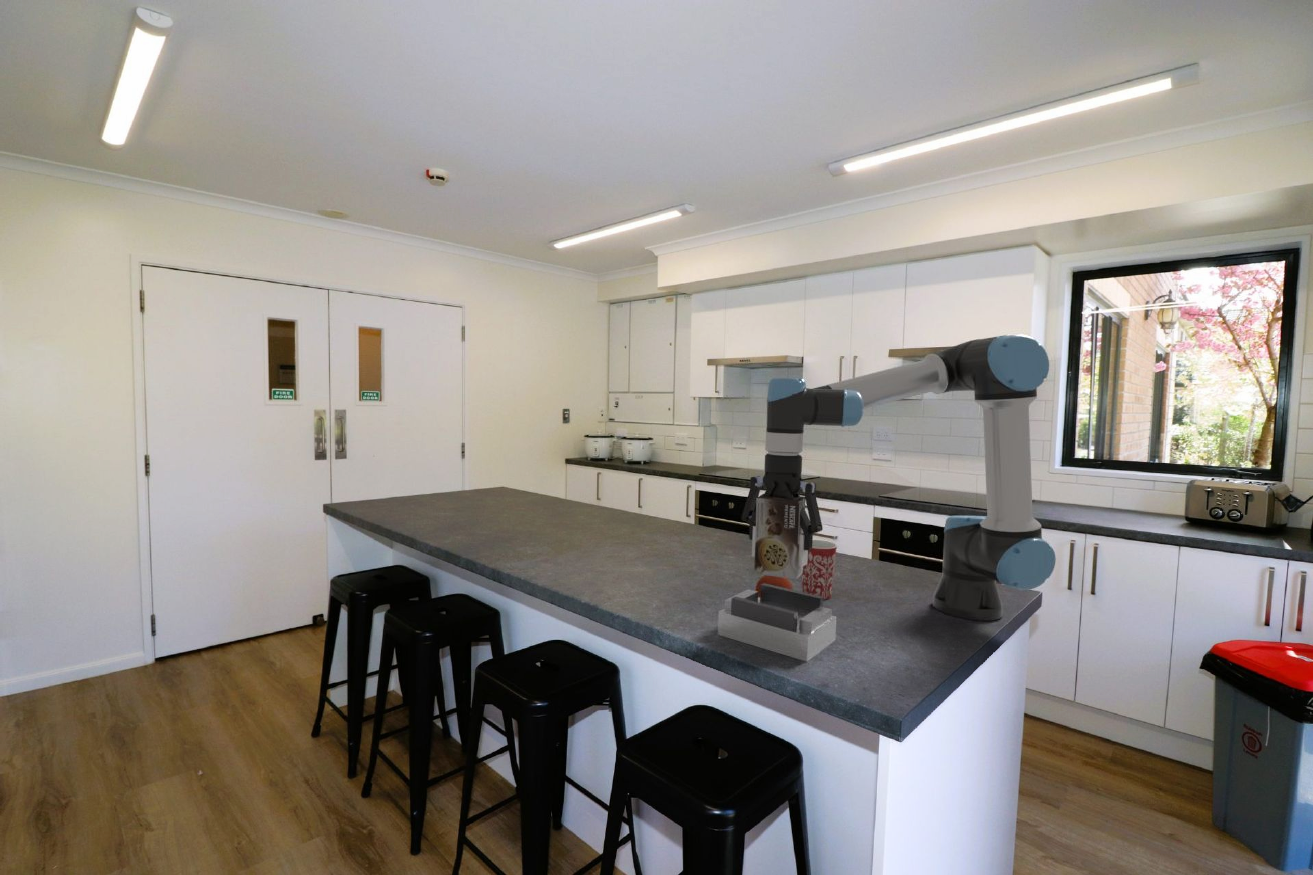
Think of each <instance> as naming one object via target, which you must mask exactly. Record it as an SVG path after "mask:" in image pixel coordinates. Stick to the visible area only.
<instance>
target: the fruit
mask: <svg viewBox="0 0 1313 875" xmlns="http://www.w3.org/2000/svg"><path fill="white" fill-rule="evenodd" d="M763 583H765V584H770V585H774V586H778V587H783V588H787V589H791V590H794V589H793V586H792V584H791V581H790V580H789V578H782V577H775V576H768V575H762V576H761V577H760V579H759V580H758V581H757V583H756V585H755V589H754V591H758V597H759V598H760V590H761V584H763Z"/></svg>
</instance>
